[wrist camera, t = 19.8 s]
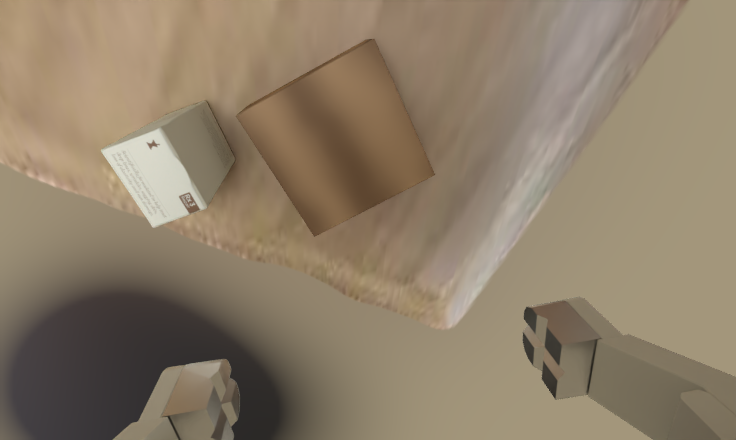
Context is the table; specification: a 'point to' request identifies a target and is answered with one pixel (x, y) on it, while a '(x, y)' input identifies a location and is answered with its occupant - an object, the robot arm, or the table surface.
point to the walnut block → (338, 138)
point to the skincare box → (173, 163)
